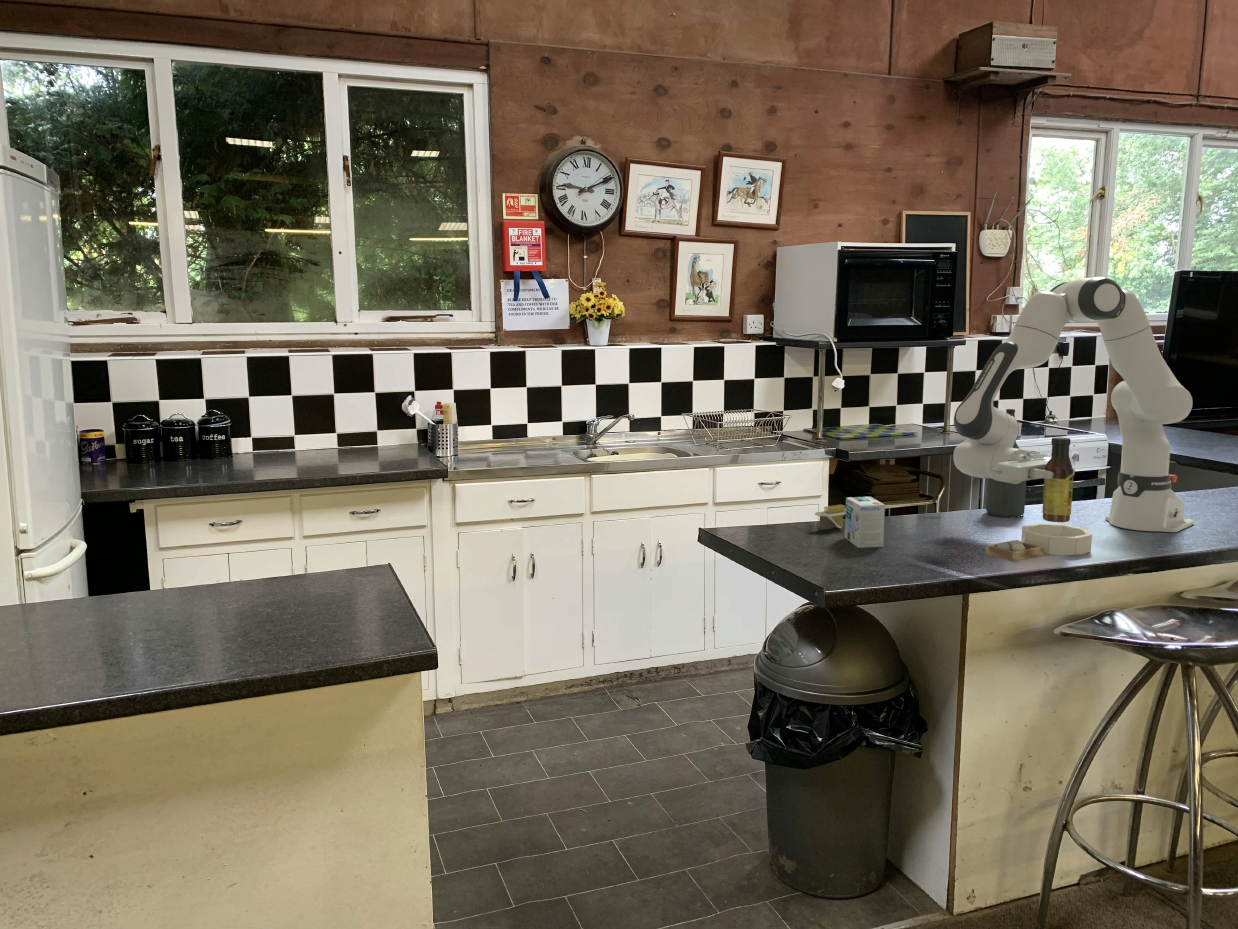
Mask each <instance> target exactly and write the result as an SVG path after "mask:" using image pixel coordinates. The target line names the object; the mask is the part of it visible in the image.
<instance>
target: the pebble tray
mask: <svg viewBox="0 0 1238 929" xmlns="http://www.w3.org/2000/svg"><path fill="white" fill-rule="evenodd" d="M1014 540H1015V539H1013V540H1008V541H1003V542H1004V543H1007V544H1009V546H1010V544H1011V542H1012V541H1014ZM1000 543H1001V542H997V543H994V544H988V545H985V555H986V556H990V557H995V558H998V559H1003V560H1007V561H1009V562H1010V561H1011V562H1014V563H1016V562H1022V561H1025V560H1029V559H1035V558H1039V557H1042V556H1044V553H1043V547H1040V546H1036V545H1032V544H1028V543H1023V542H1022V543H1023V545H1024V546H1025V548H1026V550H1021V551H1017V552H1013V551H1012V550H1011V549H1010V551H1009V550H1005V549H1001V548H997V546H998V544H1000Z"/></svg>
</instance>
